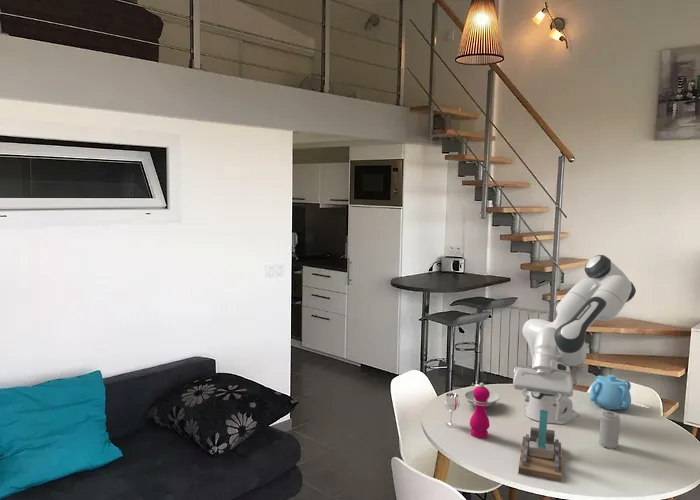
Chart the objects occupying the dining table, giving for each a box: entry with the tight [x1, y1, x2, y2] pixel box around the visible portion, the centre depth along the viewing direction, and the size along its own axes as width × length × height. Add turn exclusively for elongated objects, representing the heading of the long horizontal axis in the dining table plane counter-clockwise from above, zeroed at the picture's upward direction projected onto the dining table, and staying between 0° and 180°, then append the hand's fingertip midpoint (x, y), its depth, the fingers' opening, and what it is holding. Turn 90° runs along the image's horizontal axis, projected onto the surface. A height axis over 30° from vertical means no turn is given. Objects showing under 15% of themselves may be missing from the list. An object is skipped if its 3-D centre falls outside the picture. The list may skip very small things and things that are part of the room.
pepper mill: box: [469, 382, 490, 439], centre depth 216 cm, size 7×7×20 cm
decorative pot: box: [589, 374, 632, 411], centre depth 252 cm, size 16×16×14 cm
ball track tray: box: [518, 426, 562, 482], centre depth 198 cm, size 26×13×7 cm, turn 160°
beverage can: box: [598, 410, 621, 449], centre depth 211 cm, size 6×6×12 cm
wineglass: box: [443, 392, 460, 429], centre depth 225 cm, size 6×6×12 cm
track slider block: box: [528, 410, 554, 459], centre depth 197 cm, size 5×8×15 cm, turn 70°
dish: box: [462, 389, 501, 408], centre depth 246 cm, size 18×14×5 cm
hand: (540, 403), depth 203 cm, fingers open, 8 cm apart
